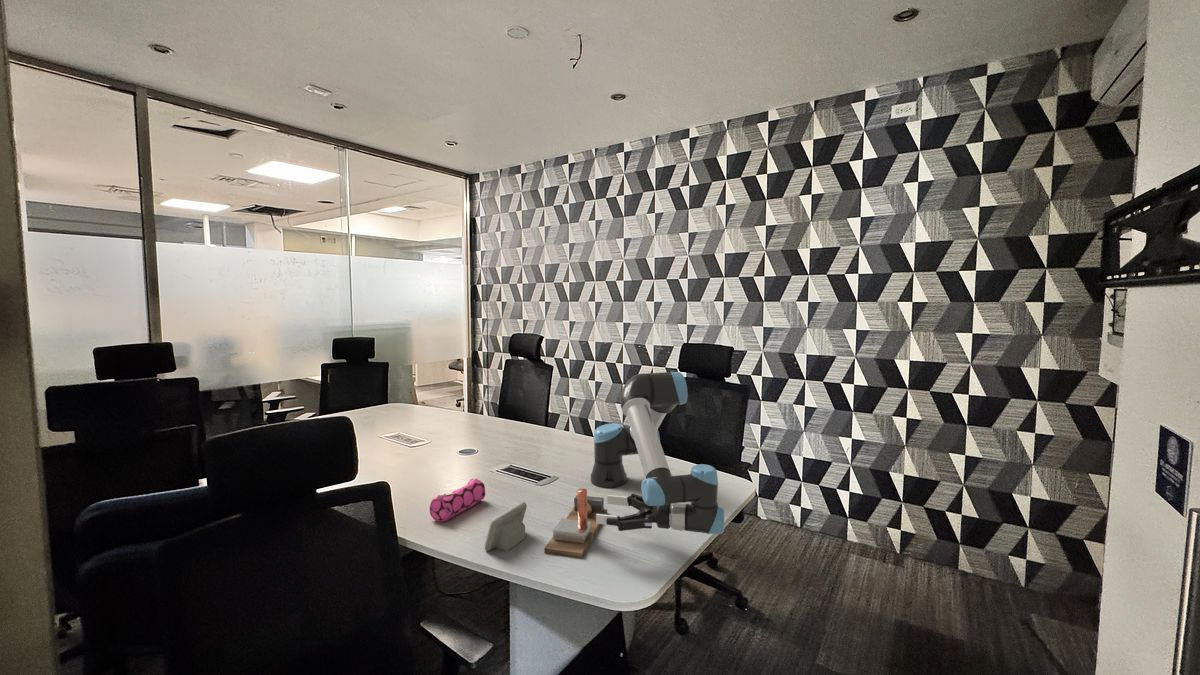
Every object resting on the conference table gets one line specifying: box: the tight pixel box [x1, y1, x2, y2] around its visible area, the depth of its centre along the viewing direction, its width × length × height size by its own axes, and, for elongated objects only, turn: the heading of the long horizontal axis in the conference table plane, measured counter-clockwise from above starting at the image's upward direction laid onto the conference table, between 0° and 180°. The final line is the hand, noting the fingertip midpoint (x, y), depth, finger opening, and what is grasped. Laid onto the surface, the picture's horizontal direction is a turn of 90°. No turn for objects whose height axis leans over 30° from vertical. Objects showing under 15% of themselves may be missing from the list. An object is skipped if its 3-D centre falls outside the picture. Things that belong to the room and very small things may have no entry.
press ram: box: [552, 488, 591, 543], centre depth 151 cm, size 8×10×15 cm
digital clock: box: [483, 501, 528, 551], centre depth 151 cm, size 16×9×11 cm, turn 139°
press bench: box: [543, 495, 608, 559], centre depth 157 cm, size 30×12×6 cm, turn 165°
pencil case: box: [429, 478, 486, 523], centre depth 174 cm, size 21×10×10 cm, turn 155°
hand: (602, 508), depth 147 cm, fingers open, 13 cm apart
